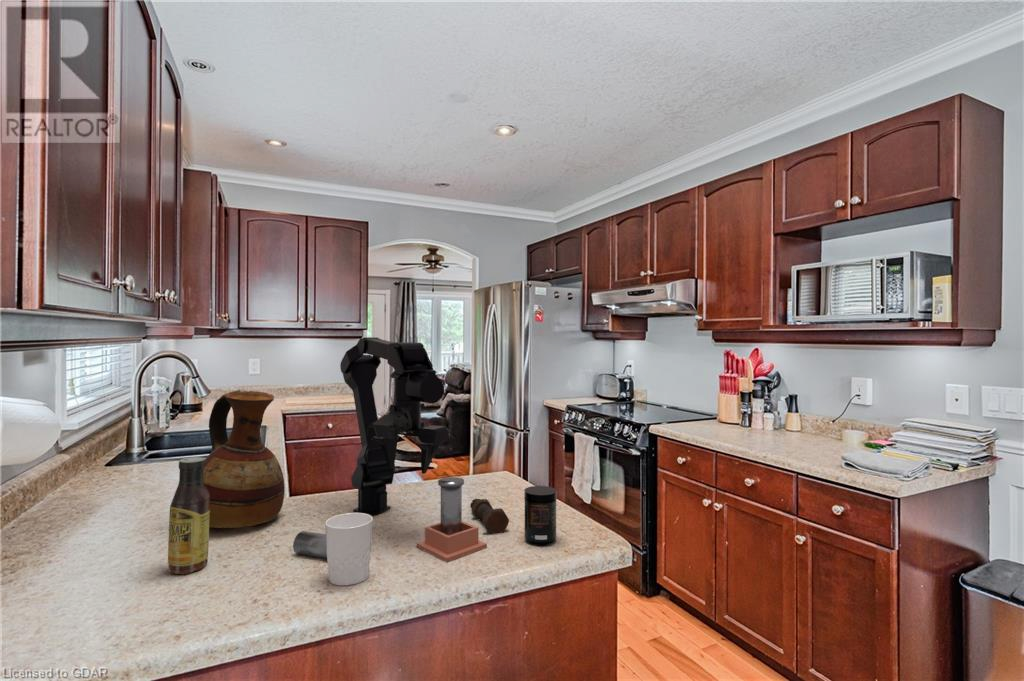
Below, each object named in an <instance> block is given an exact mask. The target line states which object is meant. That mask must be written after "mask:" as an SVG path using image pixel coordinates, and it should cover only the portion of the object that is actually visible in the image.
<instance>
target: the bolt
mask: <svg viewBox="0 0 1024 681" xmlns="http://www.w3.org/2000/svg"><path fill="white" fill-rule="evenodd" d="M469 507H470V509H471V512H472V514H473V516H474V517H475V519H476V518H477V519H482V524H483V526H484V528H485V529H486V531H487V532H488V534H489V535H498V533H499V534H502V533H504V532H505V531H506V529H507V527H508V525H509V522H510V519H509V517H508V515H507V514H506V512H505V511H504V509H503V508H500V507H499V508H493V506H492V505H491V503H490V501H489V500H488V499H487V498H483V499H482V498H475V499H473V500H472V501H471V502H470V506H469ZM477 519H476V520H477Z"/></svg>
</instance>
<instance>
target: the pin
mask: <svg viewBox="0 0 1024 681" xmlns="http://www.w3.org/2000/svg"><path fill="white" fill-rule="evenodd" d="M293 540H294V541H293V542H292V543H293V544H292V547H293V552H294V553H295V554H297V555H302V556H307V557H308V556H310V557H315V558H320V557H321V558H322V559H326V558H327V549H326V533H320V532H319V533H318V532H314V531H307V530H301V531H300V532H298V533H297V534H296V536H295V537H294V539H293Z"/></svg>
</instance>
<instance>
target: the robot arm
mask: <svg viewBox="0 0 1024 681" xmlns="http://www.w3.org/2000/svg"><path fill="white" fill-rule="evenodd" d="M424 346H425V345H424V344H423V343H422V342H418V341H417V342H412V341H411V342H399V341H398V342H397V341H396V342H394V341H389V340H385V339H381V338H379V337H374V336H373V337H369V336H368V337H367V336H364V337H362V338H359V339H358V341H357V343H356V345H354V346H352V347H351V348H349V349H348V350H347V351H345V353H344V355H343V356H342V359H341V360H340V364H339V365H340V366H339V368H340V372H341V373H342V377H343V381H344V383H345V384H346V385H347V386H348V387H349V388H350V389H351V391H352V394H353V399H354V400H353V401H354V406H355V413H356V419H357V425H358V426H357V427H358V432H359V437H360V444H361V448H360V450H359V453H358V455H357V458H356V463H357V464H356V465H357V466H356V467H355V469H354V471H353V473H352V475H351V477H350V479H351V481H350V482H351V487H354V488H355V489H357V498H358V499H357V503H358V504H357V507H356V508H354V509H353V508H352V509H353V510H352V513H365V514H368V515H371V516H372V517H373V516H376V515H379V514H381V513H383V512H385V511H388V510H391V505H388V491H387V485H392V484H393V480H394V476H395V469H396V465H395V462H396V455H397V448H398V441H399V440H398V439H399V435H400V436H408V437H417V439H418V440H419V441H420V442H419V443H418V442H417V444H416V445H417V447H418V448H419V449H420V464H421V465H420V468H421V474H423V475H424V474H426V473H427V472H428V469H429V467H430V465H431V463H432V461H433V458H434V456H435V455H436V452H437V450H438V448H440V445H441V444H444V443H445V441H447V440H450V431H449V429H448V427H447V426H445V425H444V426H443V425H430V426H425V421H422V418H421V416H422V413H421V412H422V409H425V403H427V404H436V403H439V401H440V400H441V399H442V398H443V397H444V393H445V385H444V383H443V381H442V380H441V379H440V377H439V376H437V370H434V368H433V367H434V365H433V363H432V362H431V360H430V357H429V355H428V352H427V350H426V348H425V347H424ZM381 359H384V360H387V361H386V362H387V364H388V365H389V366H391V367H392V368H393V369H394V371H393V372H391V374H390V378H391V379H394V382H393V383H394V385H393V386H394V387H393V388H394V390H393V392H394V395H393V404H390V405H389V407H388V413H386V414H384V415H383V416H381V417H378V416H379V415H378V412H377V405H376V402H375V401H376V400H375V394H374V389H373V385H374V382H375V380H376V378H377V376H378V373H377V370H378V369H379V366H380V365H381V363H382V361H381Z"/></svg>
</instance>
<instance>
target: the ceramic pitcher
mask: <svg viewBox="0 0 1024 681" xmlns="http://www.w3.org/2000/svg"><path fill="white" fill-rule="evenodd" d="M274 400H275V396H274V395H273V394H270V393H267V392H264V391H253V390H248V391H247V390H242V391H241V390H234V391H230V392H227V393H224V394H222V395H221V396H220V397H219V398H217V400H216V401H215V402H214V404H213V406H212V409H211V413H210V415H209V420H208V431H209V438H210V441H211V442H210V443H211V453H209V455H208V456H206V458H205V466H204V468H203V479H204V481H203V483H204V486H205V488H206V489H207V490H208V492H209V494H210V502H209V508H210V520H209V528H219V529H234V528H246V527H251V526H252V527H253V526H256V525H259V524H263V523H264V524H265V523H267V522H270V521H271V520H273V519H274V518H275V517H277V515H279V514H280V512H281V510H282V508H283V504H284V498H285V479H284V473H283V469H282V467H281V464H280V462H279V459H278V458H277V456H276V455H275V454H274V453H273V452H272V451H271V450H270V449H269V448H267V447H266V446H265V445H264V444H263V442H262V437H261V428H262V424H263V419H264V414H265V411H266V409H267V408H268V406H269V405H271V403H272V402H274ZM231 409H232V416H233V419H232V420H233V423H232V429H231V431H230V435H229V436H228V433H227V425H228V423H227V421H228V417H229V413H230V410H231Z"/></svg>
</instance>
